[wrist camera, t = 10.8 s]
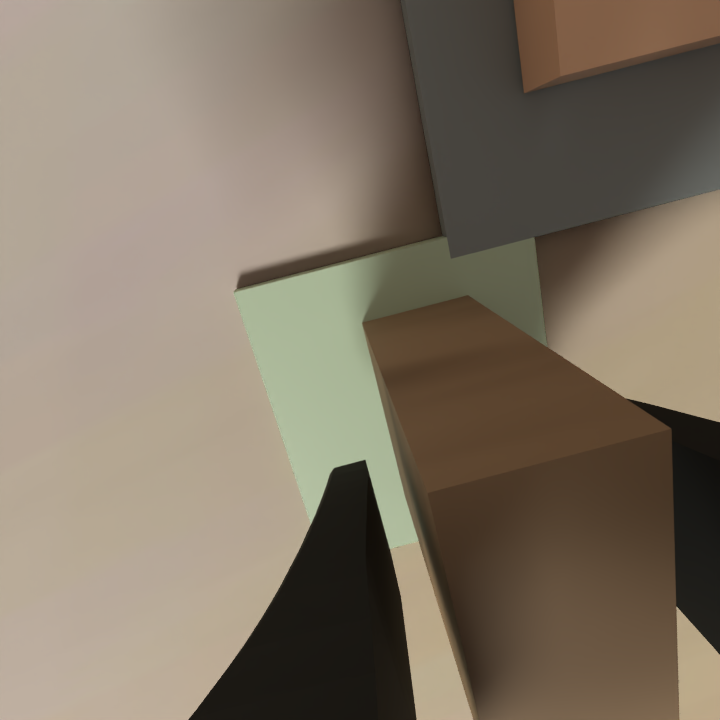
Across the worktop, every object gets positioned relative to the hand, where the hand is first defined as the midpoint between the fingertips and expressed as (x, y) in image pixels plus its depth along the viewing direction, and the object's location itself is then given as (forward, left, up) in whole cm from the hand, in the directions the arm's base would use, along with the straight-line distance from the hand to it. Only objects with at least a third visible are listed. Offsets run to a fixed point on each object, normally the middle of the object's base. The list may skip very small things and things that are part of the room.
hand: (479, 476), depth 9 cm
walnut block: (0, 0, -3) cm, 3 cm away
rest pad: (0, +1, -4) cm, 4 cm away
